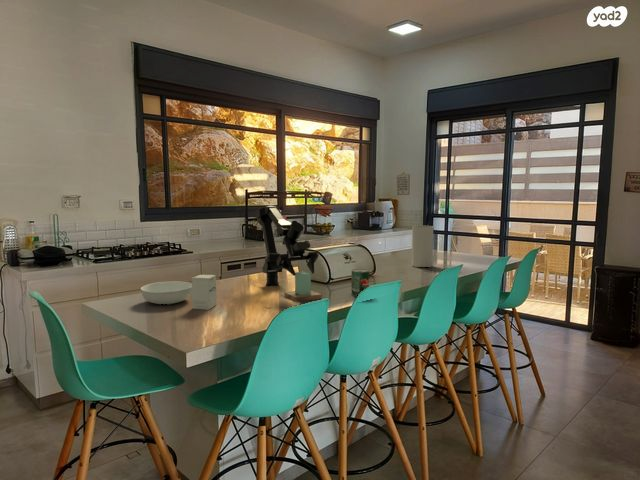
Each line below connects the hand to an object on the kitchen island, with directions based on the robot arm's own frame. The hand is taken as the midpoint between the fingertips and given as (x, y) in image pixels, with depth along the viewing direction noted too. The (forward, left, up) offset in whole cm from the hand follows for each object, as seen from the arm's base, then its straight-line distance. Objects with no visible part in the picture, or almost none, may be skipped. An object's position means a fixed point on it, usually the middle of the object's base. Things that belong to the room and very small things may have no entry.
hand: (304, 274), depth 193 cm
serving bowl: (+2, -58, -11) cm, 59 cm away
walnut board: (-1, -1, -11) cm, 11 cm away
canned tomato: (-5, +25, -11) cm, 28 cm away
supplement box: (+12, -41, -11) cm, 44 cm away
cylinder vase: (-77, +76, -11) cm, 109 cm away
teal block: (-1, -1, -9) cm, 9 cm away
